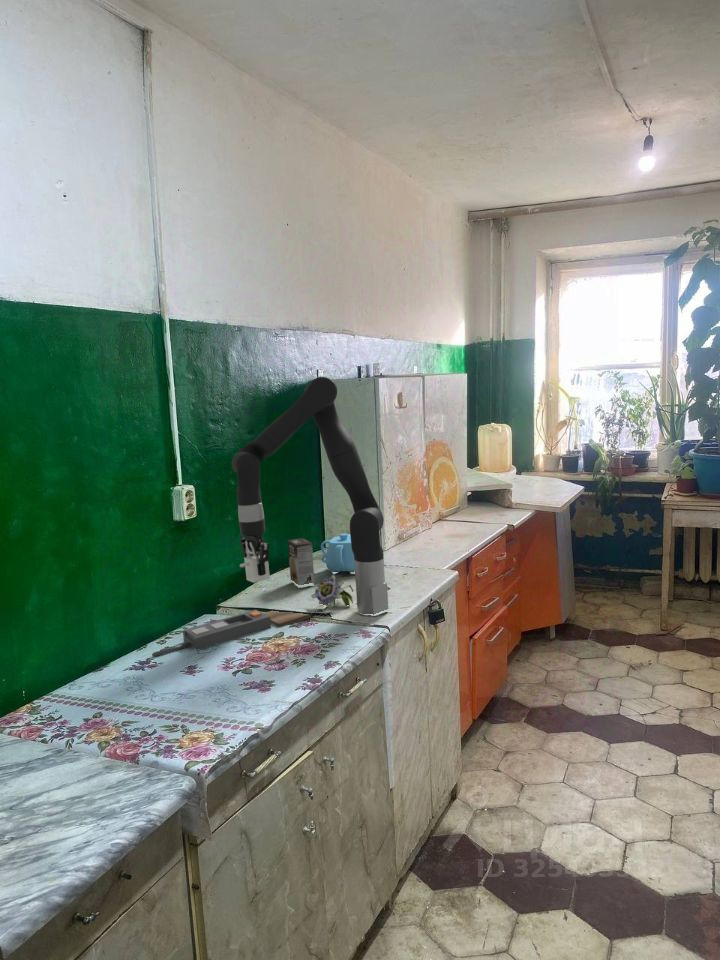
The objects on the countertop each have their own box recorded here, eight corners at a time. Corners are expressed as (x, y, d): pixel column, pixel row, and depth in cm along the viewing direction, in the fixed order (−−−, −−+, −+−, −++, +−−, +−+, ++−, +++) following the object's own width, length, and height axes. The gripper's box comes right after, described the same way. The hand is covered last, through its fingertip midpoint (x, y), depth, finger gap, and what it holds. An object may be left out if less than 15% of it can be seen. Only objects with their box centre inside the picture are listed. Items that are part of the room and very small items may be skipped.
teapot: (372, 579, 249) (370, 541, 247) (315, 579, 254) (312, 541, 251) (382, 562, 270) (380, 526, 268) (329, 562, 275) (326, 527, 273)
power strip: (270, 627, 207) (269, 614, 207) (158, 662, 187) (156, 647, 186) (256, 620, 214) (255, 607, 214) (146, 652, 194) (145, 638, 193)
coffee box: (290, 582, 251) (286, 540, 249) (306, 579, 254) (303, 537, 251) (298, 589, 243) (295, 545, 240) (315, 586, 245) (312, 542, 243)
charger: (270, 578, 207) (267, 555, 206) (245, 585, 202) (243, 562, 201) (262, 575, 211) (259, 553, 209) (238, 582, 205) (235, 559, 204)
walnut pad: (312, 616, 214) (312, 613, 214) (279, 627, 207) (278, 623, 207) (292, 607, 224) (292, 604, 224) (259, 617, 217) (259, 614, 217)
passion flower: (327, 624, 222) (303, 596, 221) (340, 607, 231) (318, 580, 231) (350, 609, 216) (326, 580, 216) (363, 592, 225) (340, 564, 225)
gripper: (274, 518, 201) (280, 574, 204) (250, 513, 212) (256, 566, 215) (252, 523, 196) (258, 581, 199) (229, 518, 208) (235, 572, 210)
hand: (257, 573), depth 207 cm, fingers closed on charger, 4 cm apart
